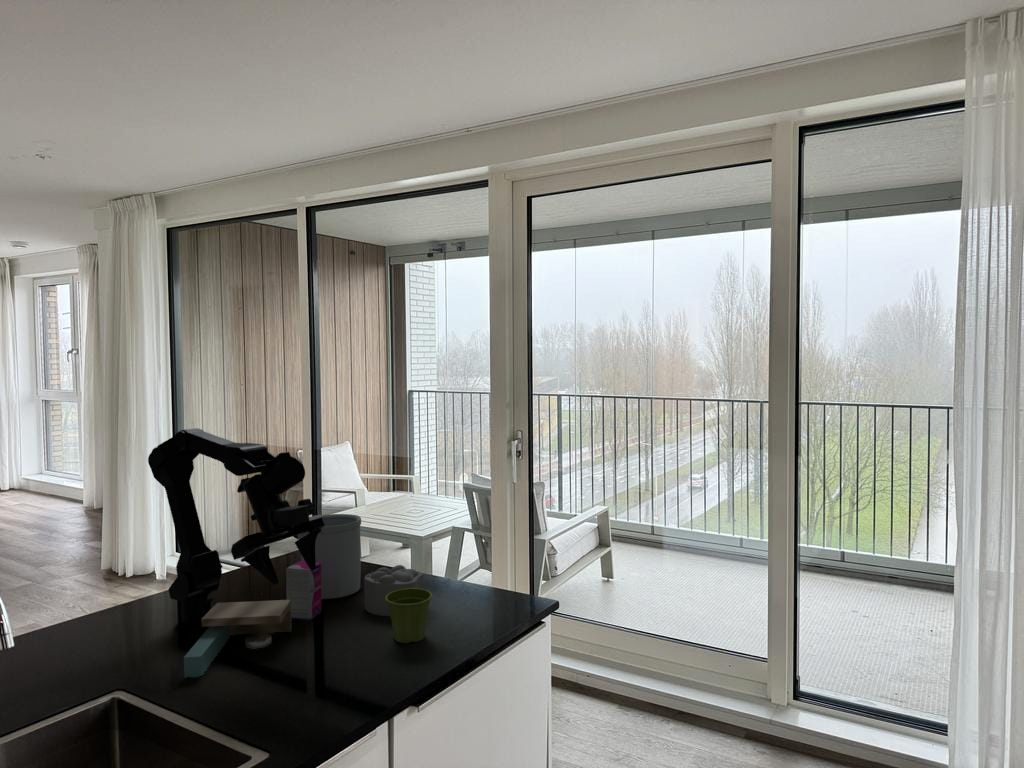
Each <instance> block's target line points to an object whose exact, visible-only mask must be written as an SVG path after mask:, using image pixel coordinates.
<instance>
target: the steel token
mask: <svg viewBox="0 0 1024 768" xmlns="http://www.w3.org/2000/svg"><path fill="white" fill-rule="evenodd" d="M272 636H273V635H272V633H270V634H269V633H256V634H249V635H247V636H246V637H245V638H244V647H245V646H246V647H247V648H251V649H256V648H262V647H265V646H268V645H269V644H271V643H272V644H273V641H272V638H273V637H272ZM272 644H271V645H272ZM246 647H245V648H246ZM268 647H269V646H268ZM247 648H246V649H247ZM251 649H250V650H251ZM262 649H263V648H262ZM256 650H257V649H256Z"/></svg>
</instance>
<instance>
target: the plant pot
mask: <svg viewBox="0 0 1024 768" xmlns="http://www.w3.org/2000/svg"><path fill="white" fill-rule="evenodd" d="M432 598H433V593H432V592H431V591H430V590H428V589H426V588H425V589H424V588H423V589H420V588H405V589H399V590H395V591H392V592H390V593H389V594H387V595H386V597H385V599H386V601H387V602H388V607H389V608H390V613H391V616H390V619H391V625H392V631H393V638H394V641H396V642H398V643H402V644H409V643H412V642H413V643H417V642H420V641H422V640H424V638H425V636H426V629H427V628H426V627H427V618H428V610H429V606H430V603H431V599H432Z"/></svg>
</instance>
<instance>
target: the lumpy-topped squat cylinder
mask: <svg viewBox="0 0 1024 768" xmlns="http://www.w3.org/2000/svg"><path fill="white" fill-rule="evenodd" d="M363 579H364V580H363V581H364V582H363V583H364V585H363V586H364V587H363V588H364V609H366V610H367V611H366V610H365V611H366V612H368V613H370V614H372V613H373V614H372V615H375V616H381V617H383V616H384V617H391V613H390V608H389V607H388V602H387V601H386V599H385V597H386V595H387V594H389V593H390V592H392V591H395V590H399V589H405V588H420V589H424V573H423V572H421V571H418V570H416V569H412V568H406V567H405V566H404V565H402V564H397V565H395V566H393V567H391V568H388V567H379V568H378V569H377V570H375V571H374V572H373V571H371V572H370V573H367V574H366V575H364V578H363Z"/></svg>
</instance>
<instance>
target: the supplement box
mask: <svg viewBox="0 0 1024 768" xmlns="http://www.w3.org/2000/svg"><path fill="white" fill-rule="evenodd" d="M285 572H286V579H285V580H286V581H285V582H286V583H285V585H286V599H285V600H291V621H296V620H300V622H311V621H312V619H314V618H315V617H317V616H318V615H319V614H321V613H322V612H323V611H322V610H323V609H322V608H323V607H322V604H323V603H322V600H323V599H321V598H322V596H321V563H317V562H316V569H314V570H312V571H311V569H310V568H309V567H308V565H307V564H306V562H302V561H301V560H299V561H297V562H295V563H293V564H292V565H290V566H288V567H287V568H286V571H285Z"/></svg>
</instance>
